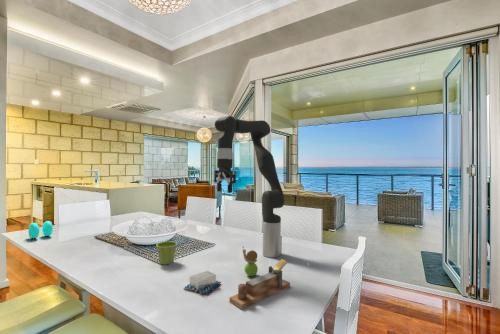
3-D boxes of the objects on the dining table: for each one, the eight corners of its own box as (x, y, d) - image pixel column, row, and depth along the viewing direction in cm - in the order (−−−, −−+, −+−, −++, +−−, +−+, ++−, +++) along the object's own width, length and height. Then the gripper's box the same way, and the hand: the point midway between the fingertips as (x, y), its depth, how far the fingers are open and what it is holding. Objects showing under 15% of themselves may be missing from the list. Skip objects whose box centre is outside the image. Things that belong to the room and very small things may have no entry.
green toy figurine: (241, 273, 105) (242, 244, 106) (256, 272, 106) (257, 244, 106) (242, 278, 100) (242, 248, 100) (258, 278, 100) (258, 248, 101)
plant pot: (151, 264, 113) (151, 245, 114) (165, 258, 122) (165, 240, 122) (167, 267, 110) (168, 248, 110) (181, 260, 119) (181, 242, 119)
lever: (271, 271, 94) (281, 260, 98) (278, 274, 91) (288, 263, 95) (270, 269, 93) (280, 258, 97) (277, 272, 91) (287, 261, 95)
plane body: (277, 281, 98) (278, 263, 98) (289, 286, 94) (290, 267, 94) (229, 301, 82) (229, 280, 82) (241, 309, 77) (241, 286, 78)
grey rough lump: (207, 278, 97) (207, 270, 97) (216, 282, 93) (216, 274, 93) (189, 284, 92) (189, 276, 92) (197, 289, 88) (198, 281, 88)
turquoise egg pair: (27, 238, 153) (28, 222, 154) (47, 235, 162) (48, 219, 162) (32, 241, 148) (33, 224, 148) (53, 237, 156) (53, 221, 156)
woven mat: (198, 281, 99) (199, 275, 99) (222, 286, 95) (222, 280, 95) (182, 292, 90) (182, 286, 90) (207, 299, 85) (207, 293, 85)
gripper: (210, 158, 122) (209, 191, 122) (227, 157, 111) (227, 193, 111) (222, 159, 127) (222, 190, 127) (240, 158, 116) (239, 192, 116)
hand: (224, 192), depth 119 cm, fingers open, 8 cm apart
